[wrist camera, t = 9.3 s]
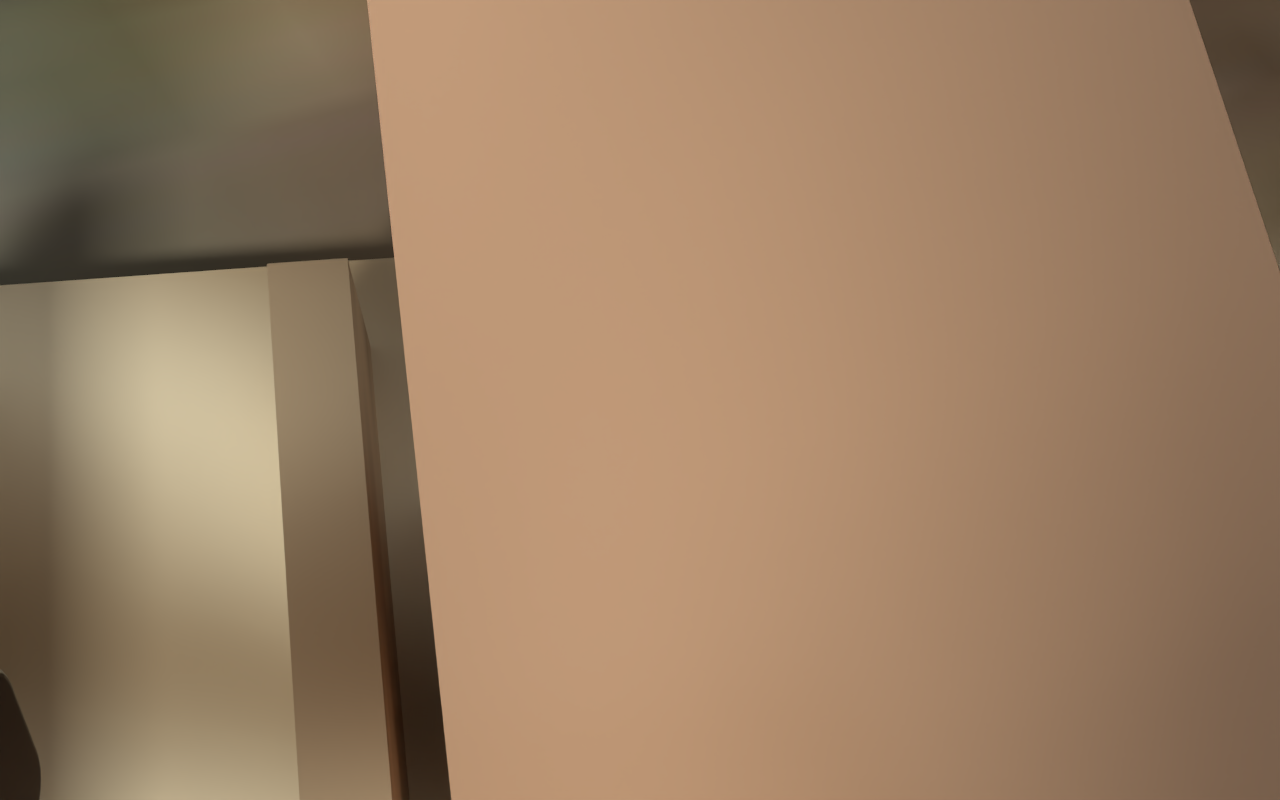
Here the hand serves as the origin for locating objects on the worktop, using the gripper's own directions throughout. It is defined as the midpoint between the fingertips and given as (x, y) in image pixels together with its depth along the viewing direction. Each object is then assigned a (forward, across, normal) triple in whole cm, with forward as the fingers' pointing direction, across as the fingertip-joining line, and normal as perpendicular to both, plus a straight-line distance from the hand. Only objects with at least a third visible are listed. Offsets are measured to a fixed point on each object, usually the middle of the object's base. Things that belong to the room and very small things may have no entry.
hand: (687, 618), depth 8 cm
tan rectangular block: (+7, 0, +6) cm, 9 cm away
